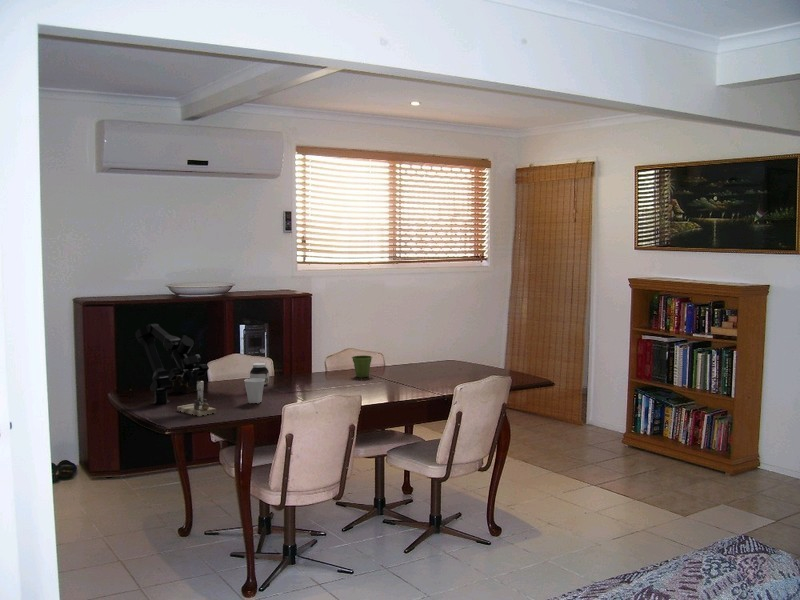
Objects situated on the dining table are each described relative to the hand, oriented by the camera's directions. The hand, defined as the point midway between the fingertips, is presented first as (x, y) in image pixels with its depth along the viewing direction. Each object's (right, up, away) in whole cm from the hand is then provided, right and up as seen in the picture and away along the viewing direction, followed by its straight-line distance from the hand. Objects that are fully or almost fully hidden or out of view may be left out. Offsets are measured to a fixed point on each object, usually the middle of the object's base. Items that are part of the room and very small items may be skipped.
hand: (196, 386), depth 366 cm
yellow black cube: (-18, -8, +50) cm, 54 cm away
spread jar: (+16, -7, +67) cm, 69 cm away
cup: (+23, -10, +21) cm, 33 cm away
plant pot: (+71, -4, +91) cm, 115 cm away
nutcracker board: (0, -12, +1) cm, 12 cm away
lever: (+2, -9, -1) cm, 9 cm away
